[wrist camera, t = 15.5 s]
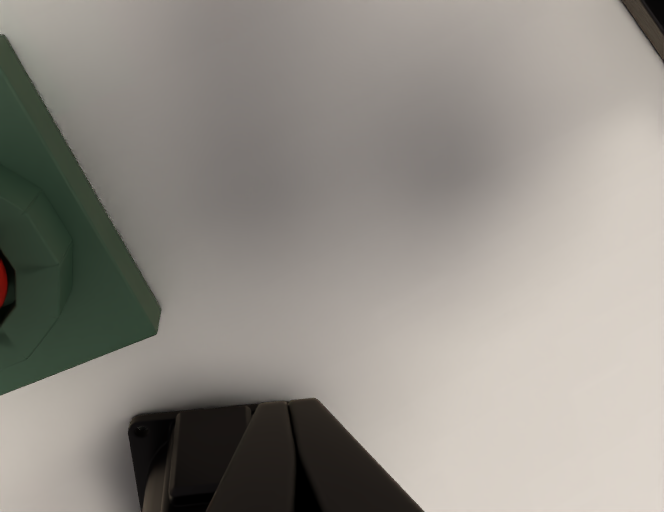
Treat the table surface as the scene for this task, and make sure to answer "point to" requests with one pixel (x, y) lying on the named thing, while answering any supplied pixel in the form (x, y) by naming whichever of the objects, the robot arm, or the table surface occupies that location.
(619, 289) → the table surface
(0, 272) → the button
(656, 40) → the bracket
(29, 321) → the button box
